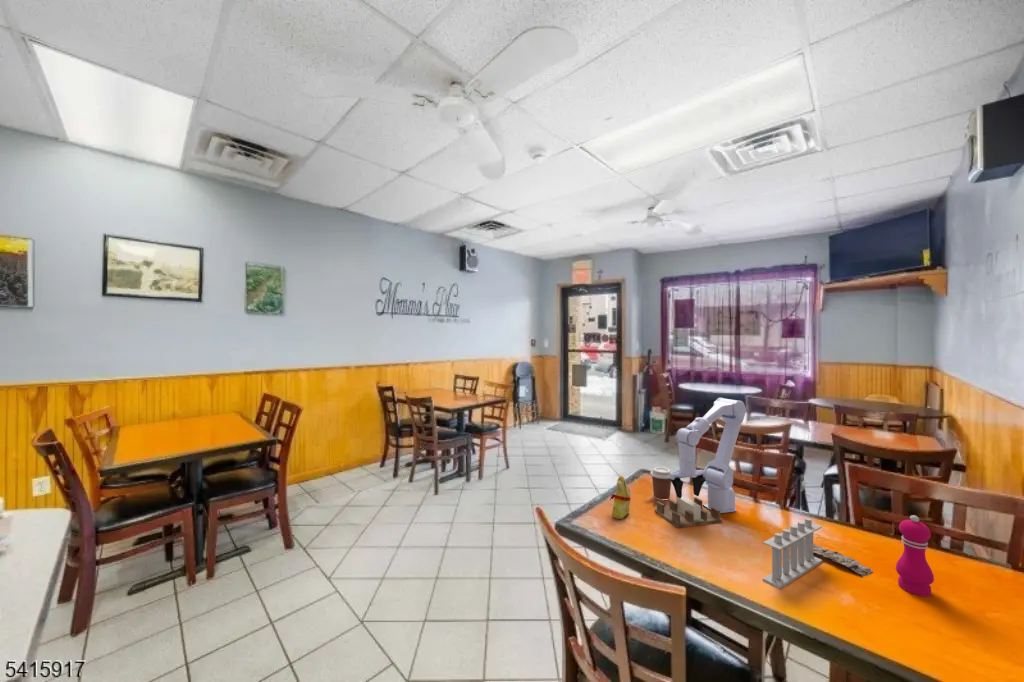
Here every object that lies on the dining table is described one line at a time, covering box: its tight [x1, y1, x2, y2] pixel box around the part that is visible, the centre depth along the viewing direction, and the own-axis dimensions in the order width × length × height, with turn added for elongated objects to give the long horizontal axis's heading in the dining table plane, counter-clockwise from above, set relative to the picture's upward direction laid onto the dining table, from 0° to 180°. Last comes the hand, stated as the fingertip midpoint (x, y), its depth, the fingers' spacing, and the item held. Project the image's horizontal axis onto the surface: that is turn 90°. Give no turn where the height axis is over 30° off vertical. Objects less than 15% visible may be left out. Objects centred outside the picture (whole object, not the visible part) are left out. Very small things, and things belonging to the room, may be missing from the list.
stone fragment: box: [797, 541, 874, 578], centre depth 124 cm, size 25×3×10 cm
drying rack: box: [654, 496, 723, 529], centre depth 150 cm, size 19×14×4 cm
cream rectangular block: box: [675, 495, 701, 520], centre depth 150 cm, size 3×10×5 cm, turn 13°
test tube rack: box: [762, 517, 823, 590], centre depth 115 cm, size 25×4×13 cm, turn 121°
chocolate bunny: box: [609, 475, 631, 520], centre depth 153 cm, size 7×11×15 cm, turn 141°
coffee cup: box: [650, 466, 672, 500], centre depth 168 cm, size 9×9×12 cm
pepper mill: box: [895, 514, 935, 597], centre depth 106 cm, size 7×7×20 cm
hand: (687, 496), depth 150 cm, fingers open, 7 cm apart
